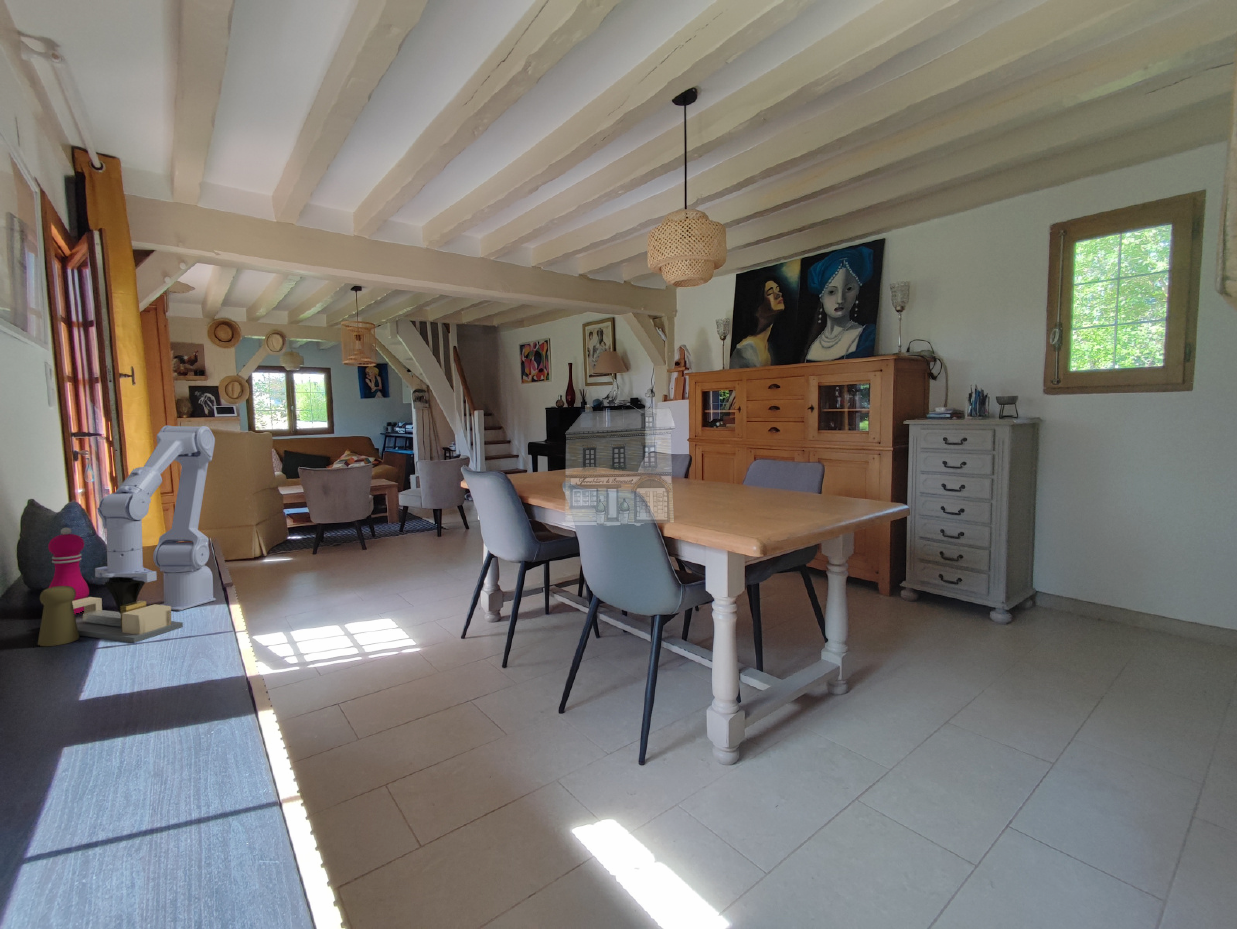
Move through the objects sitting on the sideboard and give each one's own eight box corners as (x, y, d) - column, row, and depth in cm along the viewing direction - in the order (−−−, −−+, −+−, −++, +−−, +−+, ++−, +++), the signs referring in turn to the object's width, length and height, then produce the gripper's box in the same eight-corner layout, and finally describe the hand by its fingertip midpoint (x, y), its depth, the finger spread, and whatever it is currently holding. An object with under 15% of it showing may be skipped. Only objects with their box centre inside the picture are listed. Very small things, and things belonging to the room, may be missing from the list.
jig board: (97, 616, 131) (96, 594, 131) (182, 626, 125) (182, 604, 125) (44, 630, 122) (43, 607, 121) (134, 642, 116) (133, 618, 115)
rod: (101, 617, 127) (100, 596, 127) (160, 624, 123) (160, 602, 123) (80, 622, 123) (79, 601, 123) (141, 630, 119) (140, 608, 119)
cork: (38, 648, 112) (37, 592, 111) (36, 640, 116) (35, 586, 115) (81, 641, 116) (80, 587, 116) (77, 633, 120) (76, 581, 120)
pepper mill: (63, 618, 129) (60, 530, 128) (38, 616, 131) (35, 529, 130) (97, 609, 136) (95, 526, 135) (74, 607, 138) (71, 524, 137)
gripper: (77, 550, 120) (79, 614, 120) (130, 555, 116) (132, 621, 117) (115, 544, 126) (116, 605, 127) (165, 548, 123) (167, 611, 124)
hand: (126, 612), depth 122 cm, fingers closed
